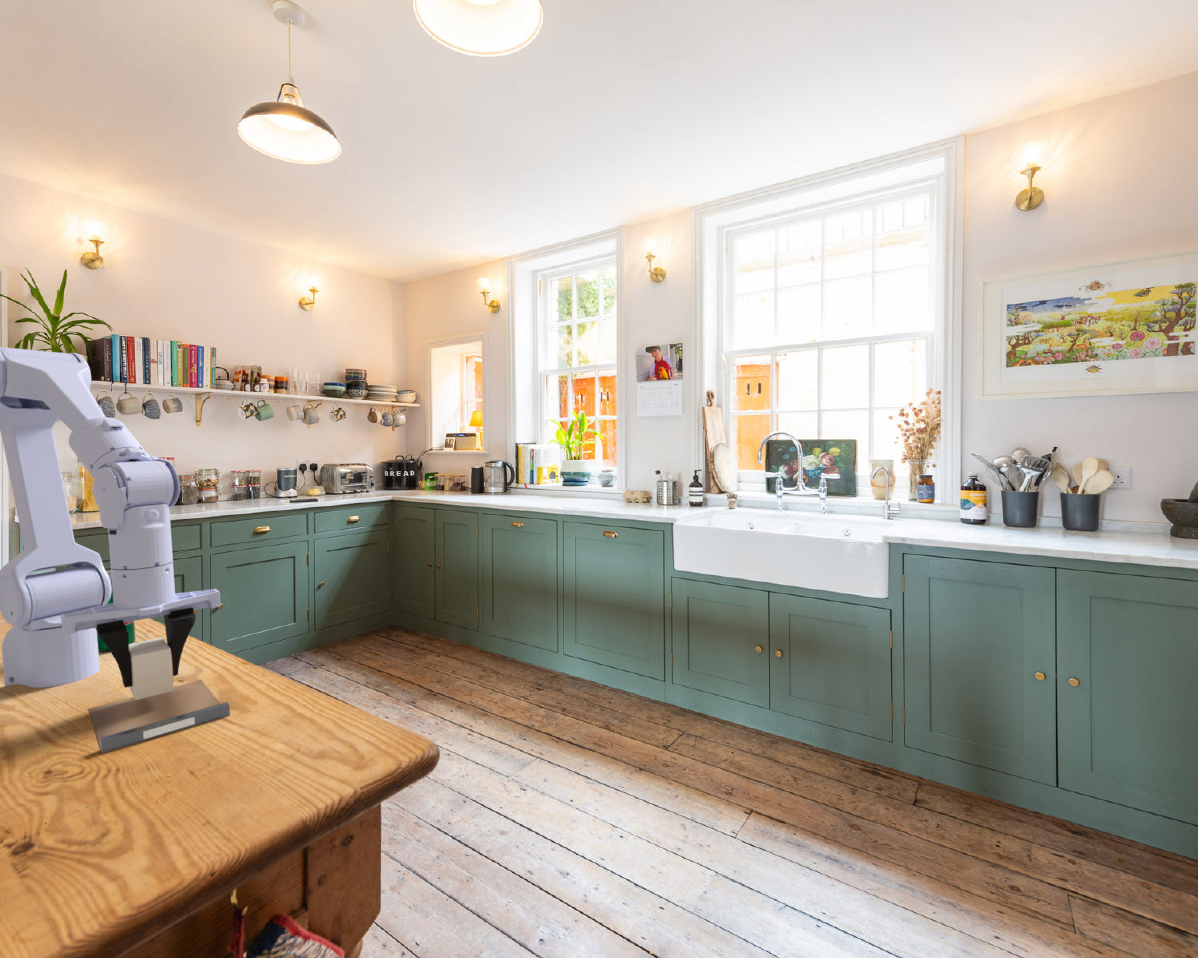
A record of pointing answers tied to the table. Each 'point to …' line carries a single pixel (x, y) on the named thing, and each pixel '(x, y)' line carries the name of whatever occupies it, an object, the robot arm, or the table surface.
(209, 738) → the table surface
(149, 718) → the shelf board
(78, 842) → the table surface
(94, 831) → the table surface
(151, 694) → the carton
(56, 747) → the table surface
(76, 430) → the robot arm
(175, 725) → the rail
